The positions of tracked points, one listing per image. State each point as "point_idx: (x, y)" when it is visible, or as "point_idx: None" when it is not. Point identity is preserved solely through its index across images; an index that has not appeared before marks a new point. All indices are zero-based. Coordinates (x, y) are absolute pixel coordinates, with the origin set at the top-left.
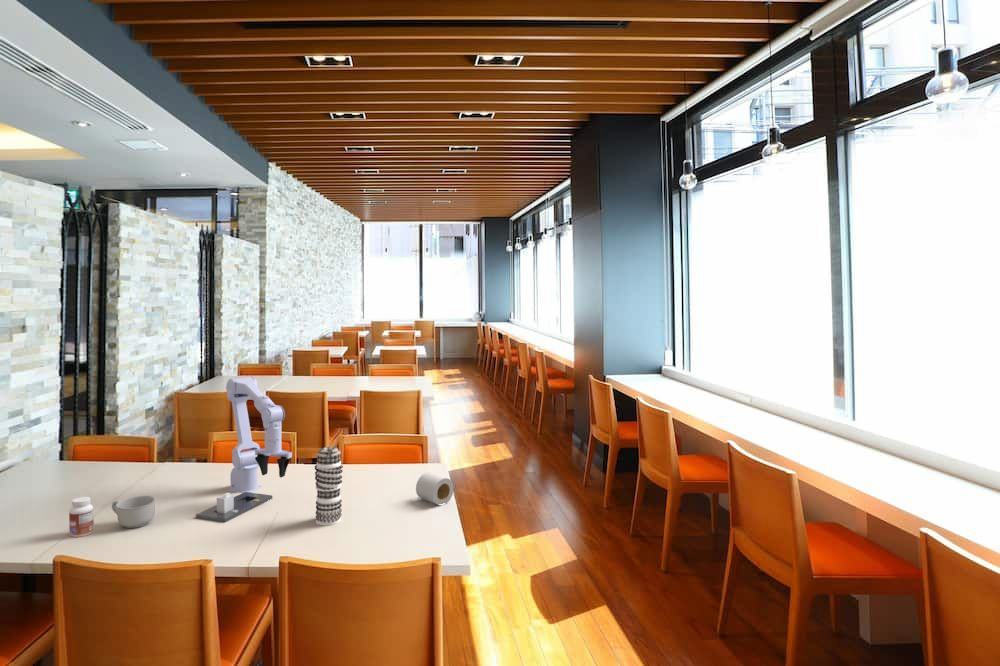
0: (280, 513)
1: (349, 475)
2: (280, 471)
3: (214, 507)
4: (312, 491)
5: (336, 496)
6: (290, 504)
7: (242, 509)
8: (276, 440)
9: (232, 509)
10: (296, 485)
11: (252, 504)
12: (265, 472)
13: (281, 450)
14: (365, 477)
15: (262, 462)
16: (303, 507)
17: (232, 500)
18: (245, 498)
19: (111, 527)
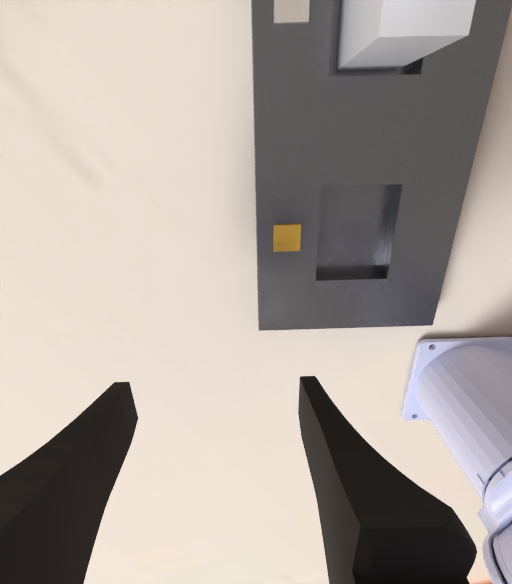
0: (57, 166)
1: (165, 577)
2: (80, 419)
3: (486, 16)
4: (162, 443)
5: None
6: (122, 296)
7: (263, 62)
8: None
9: (342, 52)
10: (275, 469)
11: (265, 173)
12: (301, 410)
13: None
14: (100, 578)
15: (333, 488)
16: (28, 285)
17: (362, 32)
18: (384, 263)
19: None
